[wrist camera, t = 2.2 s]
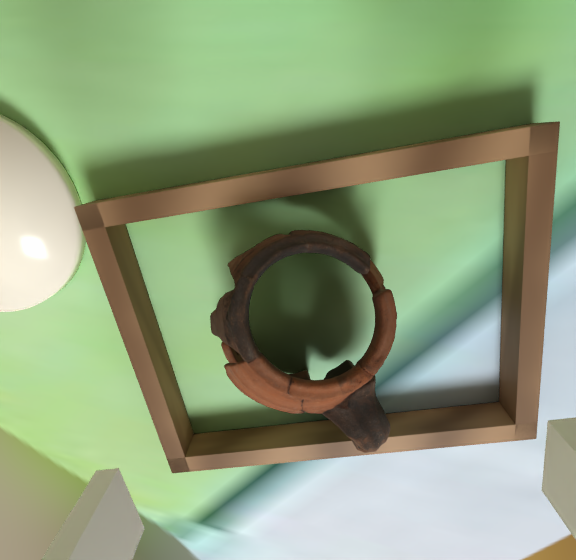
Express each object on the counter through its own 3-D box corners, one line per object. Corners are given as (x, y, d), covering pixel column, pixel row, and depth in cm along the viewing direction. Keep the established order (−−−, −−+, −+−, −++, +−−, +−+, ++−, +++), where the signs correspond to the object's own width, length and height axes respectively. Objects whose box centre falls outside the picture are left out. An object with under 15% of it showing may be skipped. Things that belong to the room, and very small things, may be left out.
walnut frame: (533, 123, 18) (559, 121, 16) (518, 415, 24) (536, 438, 22) (95, 200, 20) (73, 207, 18) (181, 449, 26) (172, 473, 24)
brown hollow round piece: (184, 314, 23) (158, 304, 15) (299, 222, 25) (332, 170, 17) (309, 465, 23) (352, 539, 15) (416, 362, 25) (505, 377, 17)
